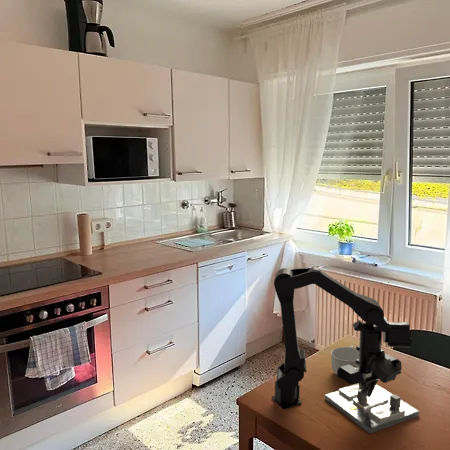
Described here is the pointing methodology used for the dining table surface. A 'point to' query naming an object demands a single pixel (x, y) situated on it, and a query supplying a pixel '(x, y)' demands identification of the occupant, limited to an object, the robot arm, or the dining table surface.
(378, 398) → the breaker panel
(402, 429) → the dining table surface
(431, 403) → the dining table surface
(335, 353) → the teacup
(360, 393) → the handle
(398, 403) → the right handle
